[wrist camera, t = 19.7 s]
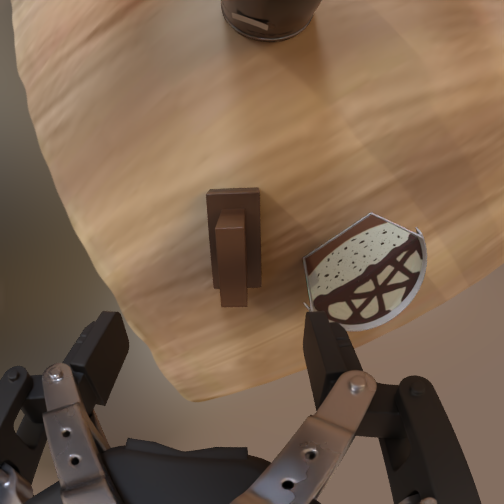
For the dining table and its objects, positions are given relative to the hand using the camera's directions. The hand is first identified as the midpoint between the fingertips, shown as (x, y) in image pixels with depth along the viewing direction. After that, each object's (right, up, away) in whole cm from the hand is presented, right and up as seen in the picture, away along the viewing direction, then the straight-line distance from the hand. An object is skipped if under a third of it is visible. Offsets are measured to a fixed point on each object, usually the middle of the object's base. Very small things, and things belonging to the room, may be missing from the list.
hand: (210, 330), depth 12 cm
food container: (+13, +3, +21) cm, 25 cm away
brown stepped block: (0, +5, +20) cm, 20 cm away
